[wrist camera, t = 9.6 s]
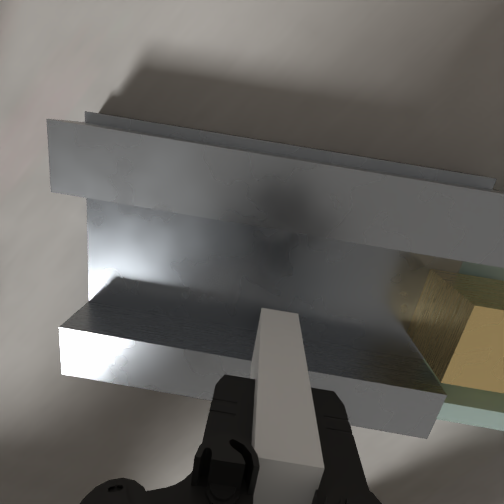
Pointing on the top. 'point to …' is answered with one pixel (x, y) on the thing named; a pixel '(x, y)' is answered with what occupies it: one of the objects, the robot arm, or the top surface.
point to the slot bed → (262, 260)
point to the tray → (469, 399)
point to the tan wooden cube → (461, 329)
